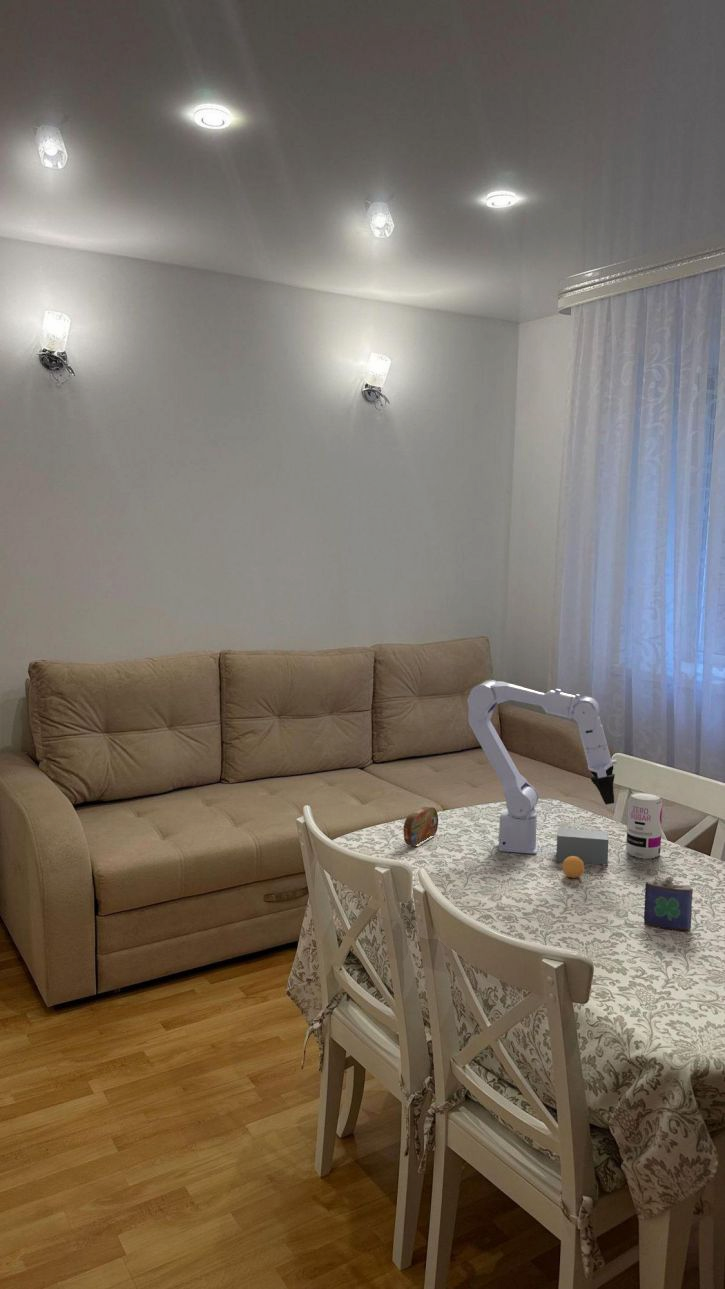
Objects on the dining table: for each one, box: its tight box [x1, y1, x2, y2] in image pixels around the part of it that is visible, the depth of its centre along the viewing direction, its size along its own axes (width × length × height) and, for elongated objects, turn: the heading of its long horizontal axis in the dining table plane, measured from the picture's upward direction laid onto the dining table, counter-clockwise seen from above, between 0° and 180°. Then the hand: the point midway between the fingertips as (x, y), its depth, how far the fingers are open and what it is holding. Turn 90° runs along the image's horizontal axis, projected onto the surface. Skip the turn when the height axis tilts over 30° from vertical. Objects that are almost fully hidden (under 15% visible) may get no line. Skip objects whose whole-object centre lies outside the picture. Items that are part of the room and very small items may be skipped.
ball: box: [562, 856, 585, 879], centre depth 213 cm, size 5×5×5 cm
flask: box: [643, 876, 694, 933], centre depth 186 cm, size 9×3×11 cm, turn 68°
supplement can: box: [625, 791, 663, 860], centre depth 228 cm, size 8×8×15 cm
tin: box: [403, 806, 439, 847], centre depth 237 cm, size 15×3×8 cm, turn 148°
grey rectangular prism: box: [555, 827, 609, 866], centre depth 225 cm, size 12×6×6 cm, turn 77°
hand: (609, 799), depth 222 cm, fingers open, 7 cm apart
